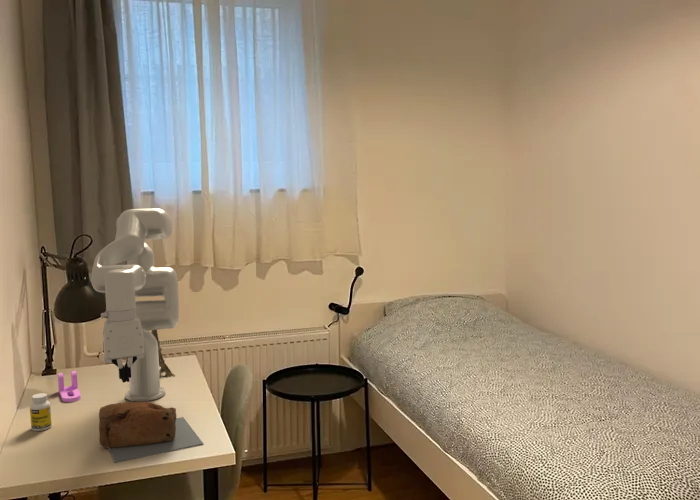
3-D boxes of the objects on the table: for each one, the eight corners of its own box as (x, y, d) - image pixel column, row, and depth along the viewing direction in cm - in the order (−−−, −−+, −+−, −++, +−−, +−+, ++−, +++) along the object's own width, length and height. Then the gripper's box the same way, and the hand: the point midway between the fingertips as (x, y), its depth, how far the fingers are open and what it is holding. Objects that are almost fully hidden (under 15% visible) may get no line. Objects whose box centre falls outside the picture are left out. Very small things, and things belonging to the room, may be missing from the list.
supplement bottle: (29, 432, 191) (27, 399, 190) (33, 425, 197) (30, 393, 195) (50, 430, 193) (47, 397, 192) (53, 423, 198) (50, 391, 197)
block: (101, 438, 184) (176, 432, 189) (98, 451, 177) (176, 444, 182) (100, 401, 182) (175, 396, 187) (96, 413, 175) (175, 407, 180)
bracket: (58, 392, 226) (57, 372, 225) (76, 389, 229) (75, 369, 228) (63, 403, 215) (62, 382, 214) (82, 400, 217) (80, 379, 216)
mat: (102, 433, 190) (102, 432, 190) (183, 417, 201) (183, 416, 201) (114, 463, 171) (114, 461, 171) (203, 444, 182) (203, 443, 181)
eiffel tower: (144, 381, 236) (141, 311, 233) (138, 373, 245) (134, 306, 242) (174, 376, 241) (171, 308, 238) (167, 368, 250) (164, 303, 247)
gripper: (93, 321, 174) (98, 389, 176) (152, 314, 181) (156, 380, 183) (90, 315, 180) (94, 381, 183) (147, 309, 187) (150, 372, 190)
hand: (125, 380), depth 183 cm, fingers closed
